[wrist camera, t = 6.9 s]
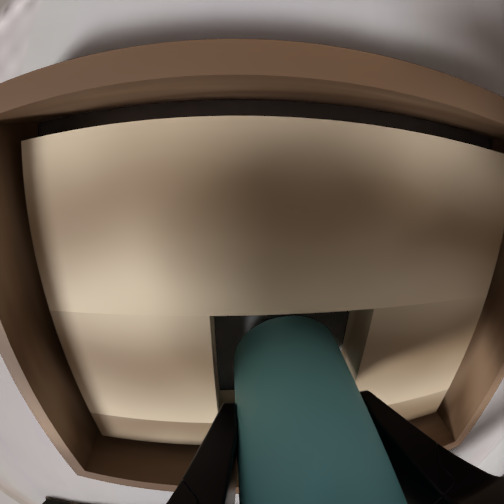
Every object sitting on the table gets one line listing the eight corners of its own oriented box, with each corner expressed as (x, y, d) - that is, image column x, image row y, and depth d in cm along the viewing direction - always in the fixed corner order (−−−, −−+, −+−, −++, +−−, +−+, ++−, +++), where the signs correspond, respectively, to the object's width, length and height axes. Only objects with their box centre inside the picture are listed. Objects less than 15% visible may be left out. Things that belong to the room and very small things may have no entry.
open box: (431, 400, 15) (459, 445, 11) (95, 420, 14) (77, 474, 10) (502, 124, 9) (567, 134, 6) (22, 107, 8) (-49, 106, 4)
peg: (328, 389, 12) (383, 554, 5) (235, 395, 12) (244, 578, 5) (343, 312, 11) (447, 508, 3) (232, 317, 11) (242, 558, 3)
